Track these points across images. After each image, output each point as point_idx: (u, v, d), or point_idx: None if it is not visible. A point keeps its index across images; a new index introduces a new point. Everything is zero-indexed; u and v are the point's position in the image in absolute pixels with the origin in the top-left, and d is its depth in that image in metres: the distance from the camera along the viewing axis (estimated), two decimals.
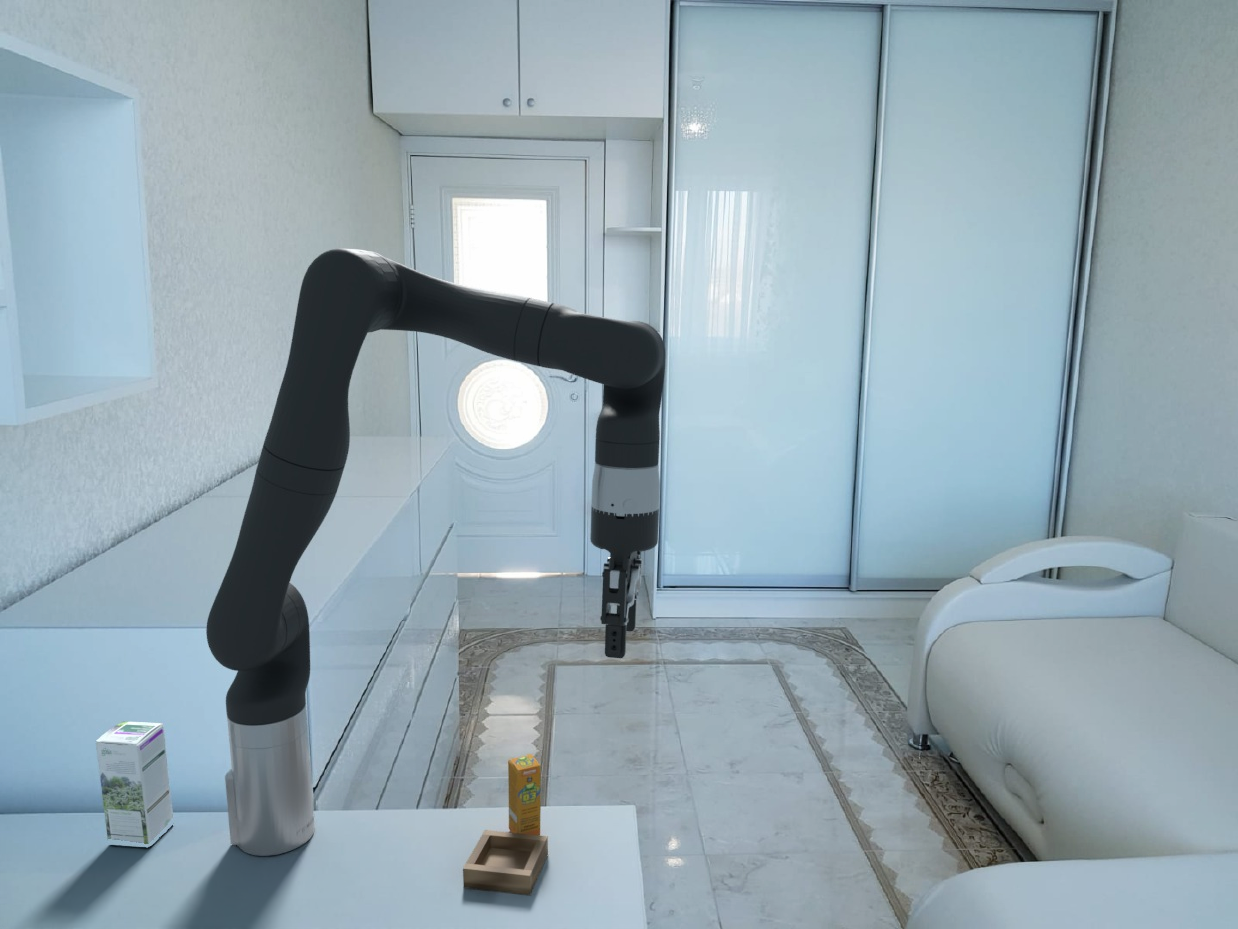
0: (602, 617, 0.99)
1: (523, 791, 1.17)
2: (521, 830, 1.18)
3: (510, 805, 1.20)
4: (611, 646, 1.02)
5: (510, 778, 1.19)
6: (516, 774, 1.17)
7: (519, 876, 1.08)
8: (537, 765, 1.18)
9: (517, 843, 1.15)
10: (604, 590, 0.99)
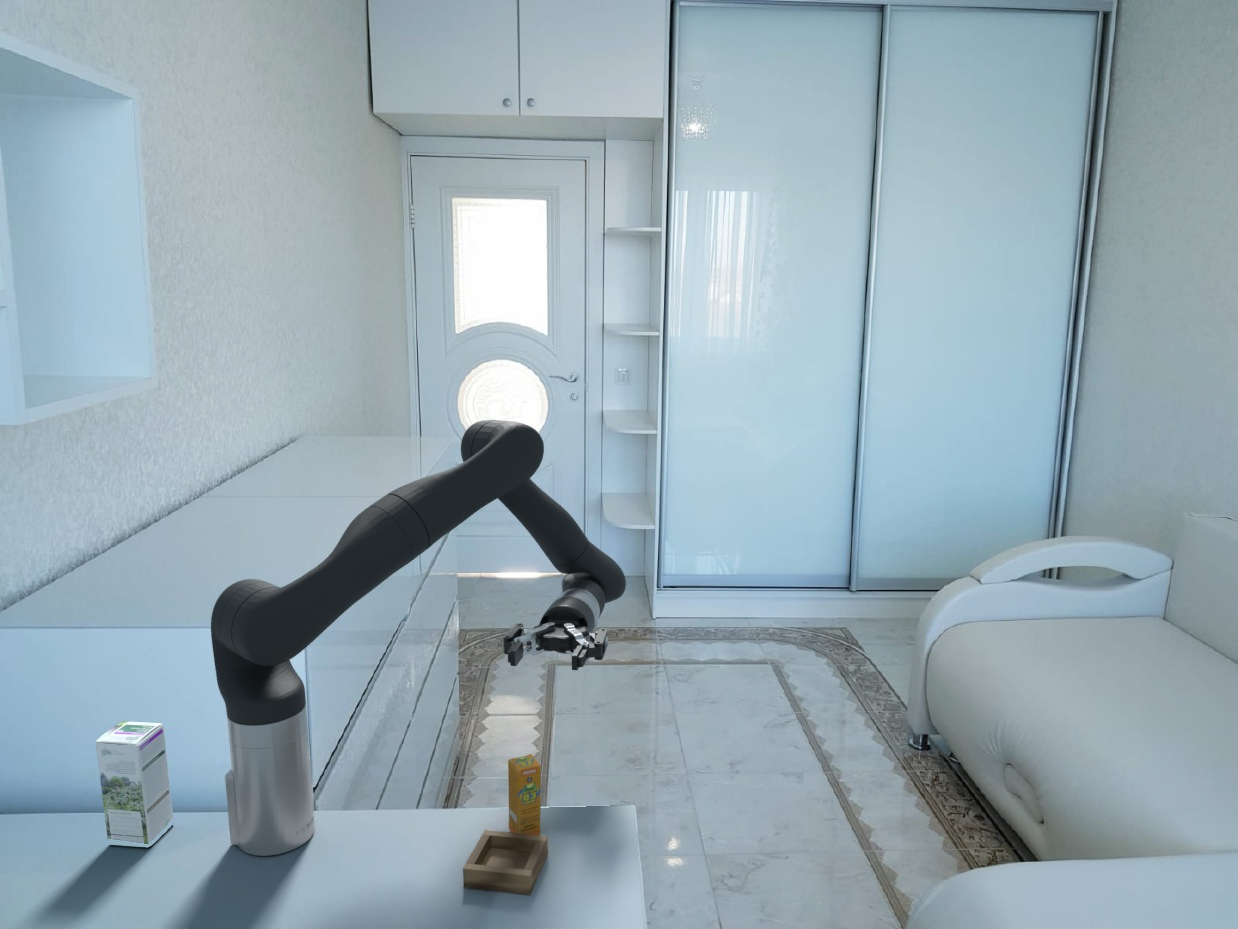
0: (603, 642, 1.30)
1: (523, 791, 1.17)
2: (521, 830, 1.18)
3: (510, 805, 1.20)
4: None
5: (510, 778, 1.19)
6: (516, 774, 1.17)
7: (519, 876, 1.08)
8: (537, 765, 1.18)
9: (517, 843, 1.15)
10: (605, 635, 1.33)
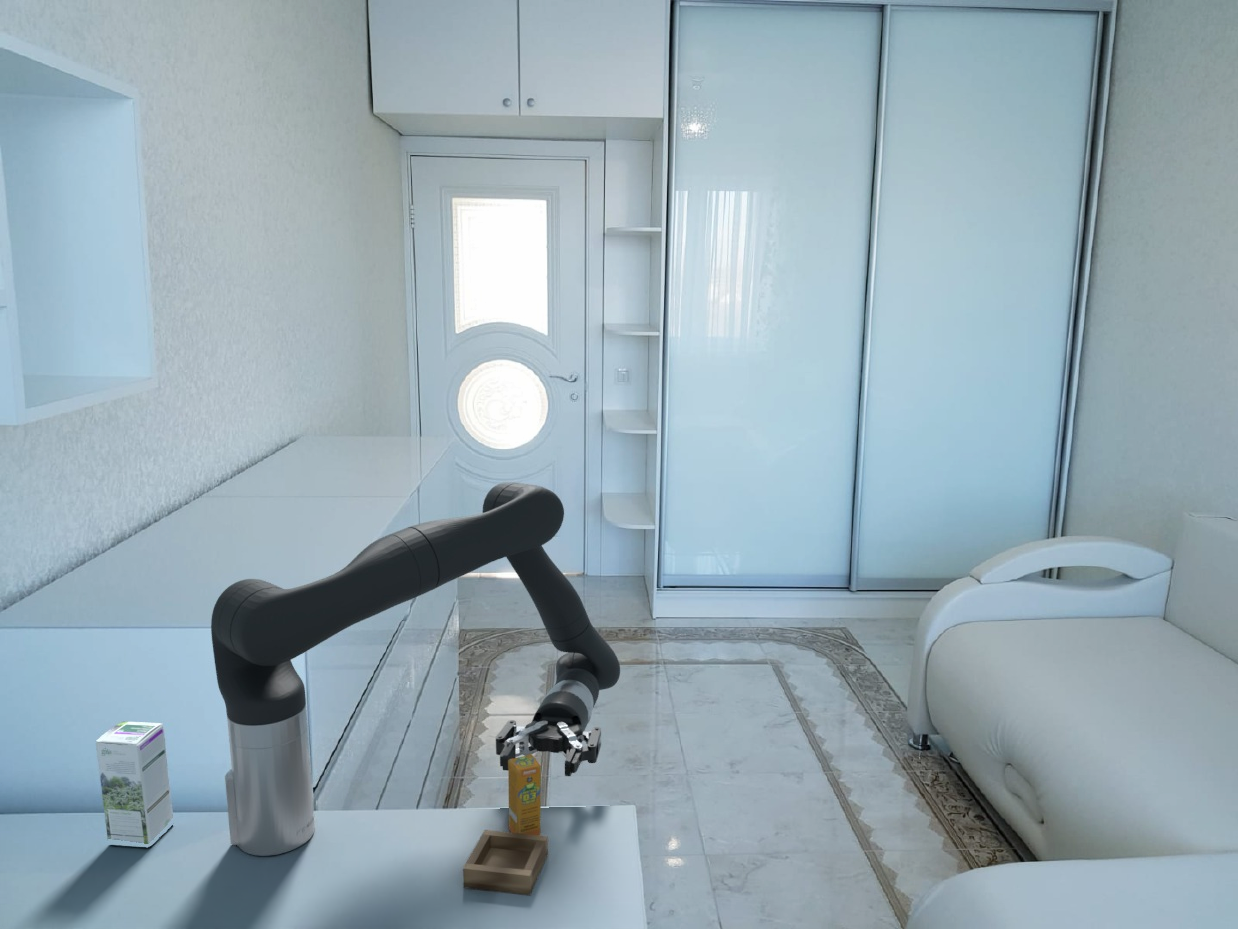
0: (596, 745, 1.29)
1: (523, 791, 1.17)
2: (521, 830, 1.18)
3: (510, 805, 1.20)
4: (576, 762, 1.26)
5: (510, 778, 1.19)
6: (516, 774, 1.17)
7: (519, 876, 1.08)
8: (537, 765, 1.18)
9: (517, 843, 1.15)
10: (599, 735, 1.32)
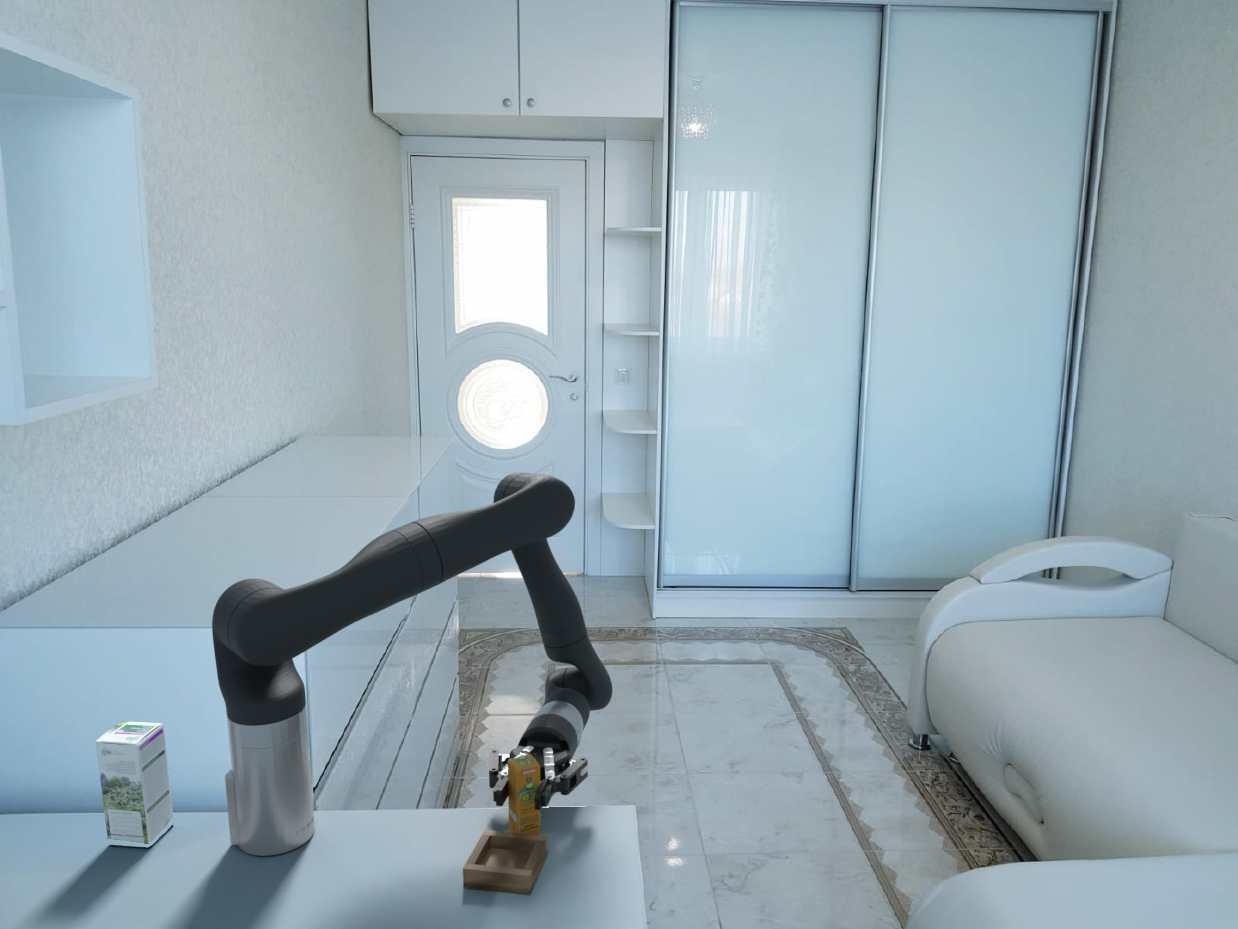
0: (570, 776, 1.20)
1: (522, 791, 1.17)
2: (521, 830, 1.18)
3: (510, 805, 1.20)
4: (547, 795, 1.17)
5: (509, 778, 1.19)
6: (515, 774, 1.17)
7: (519, 876, 1.08)
8: (536, 765, 1.18)
9: (517, 843, 1.15)
10: (581, 766, 1.23)
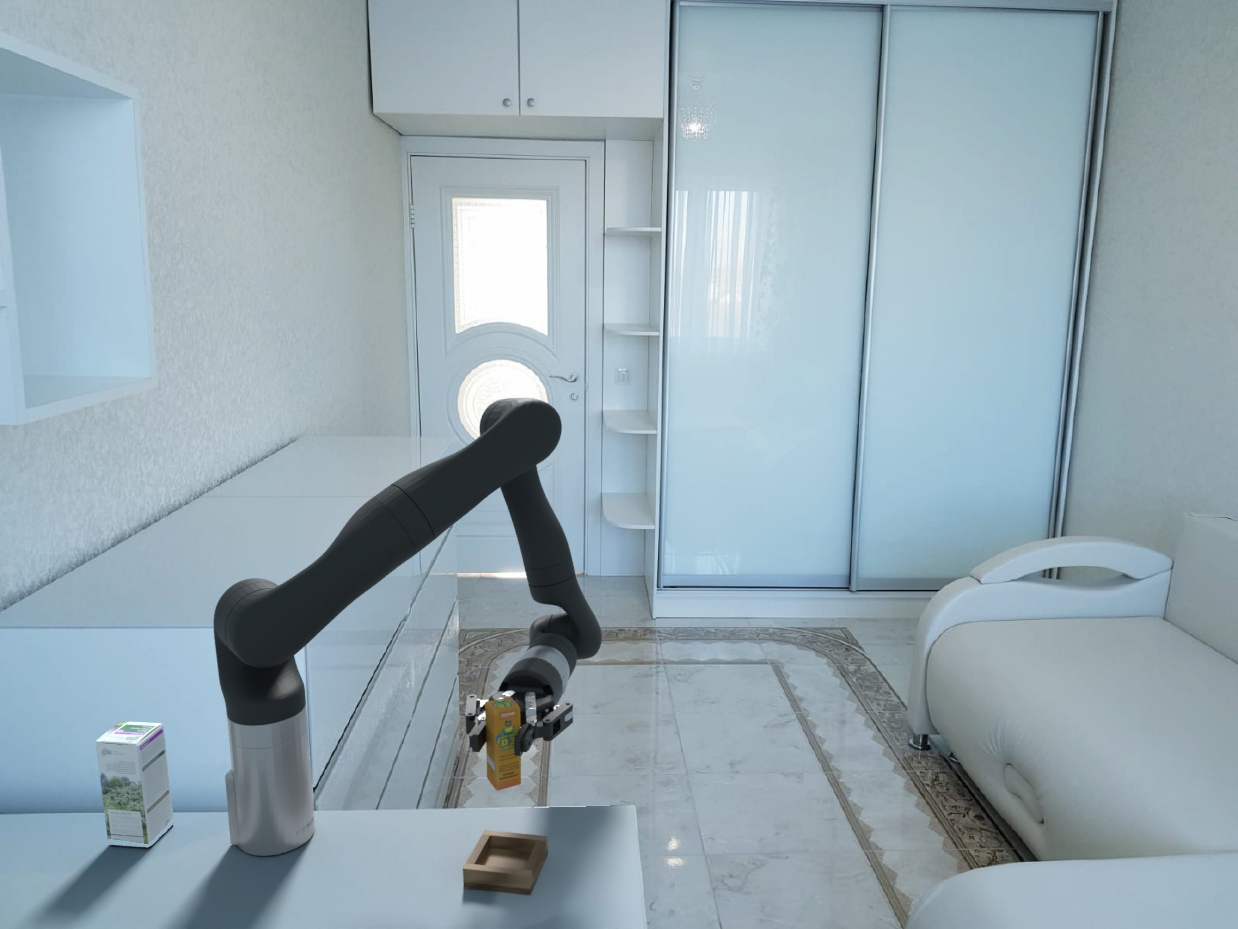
0: (553, 720, 1.11)
1: (501, 735, 1.08)
2: (499, 778, 1.09)
3: (488, 752, 1.10)
4: (528, 740, 1.08)
5: (487, 723, 1.09)
6: (493, 717, 1.07)
7: (519, 876, 1.08)
8: (516, 707, 1.08)
9: (517, 843, 1.15)
10: (565, 711, 1.13)
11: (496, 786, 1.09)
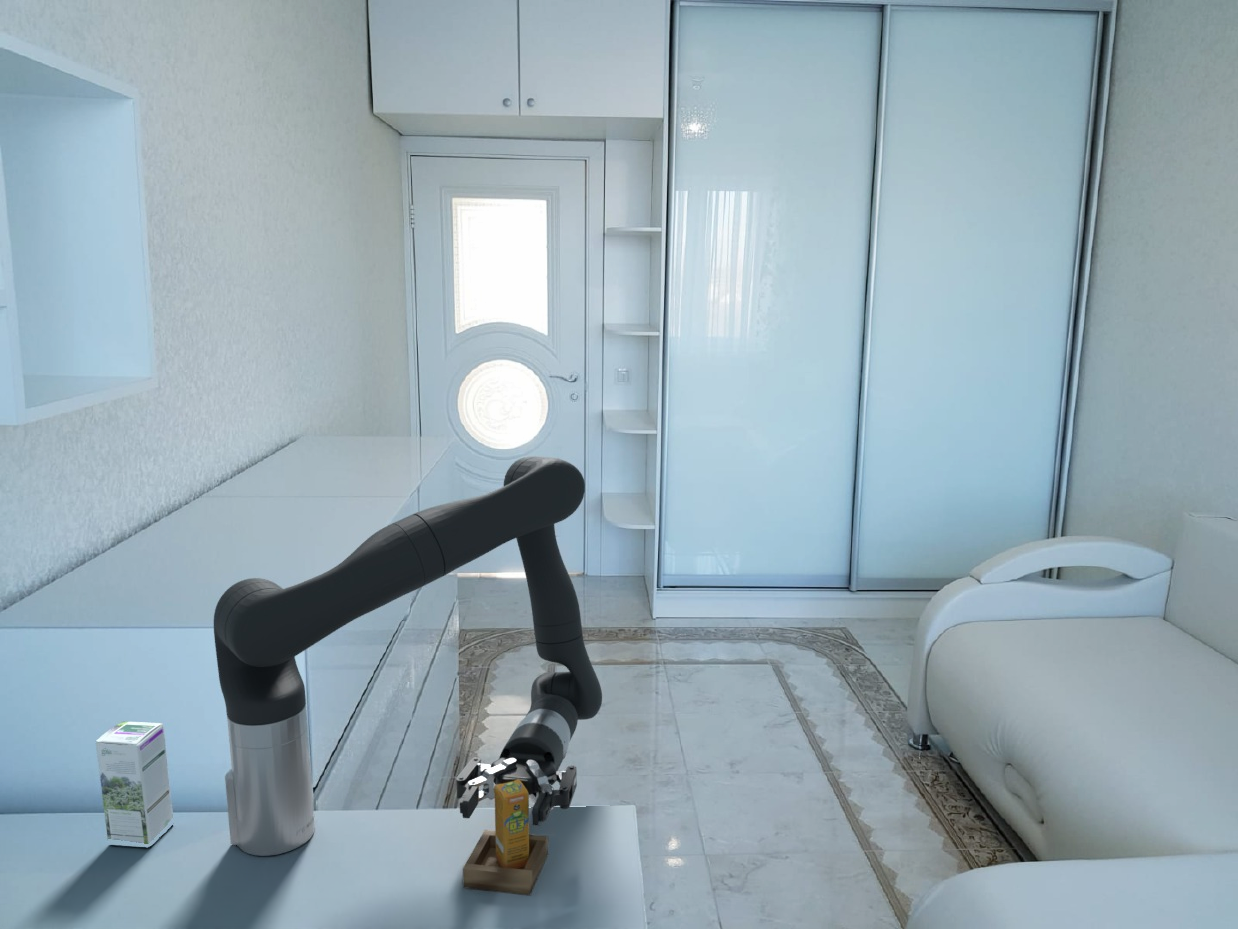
0: (569, 788, 1.13)
1: (509, 819, 1.10)
2: (508, 860, 1.11)
3: (497, 833, 1.12)
4: None
5: (496, 805, 1.11)
6: (502, 801, 1.09)
7: (519, 876, 1.08)
8: (525, 792, 1.10)
9: None
10: (574, 776, 1.16)
11: None
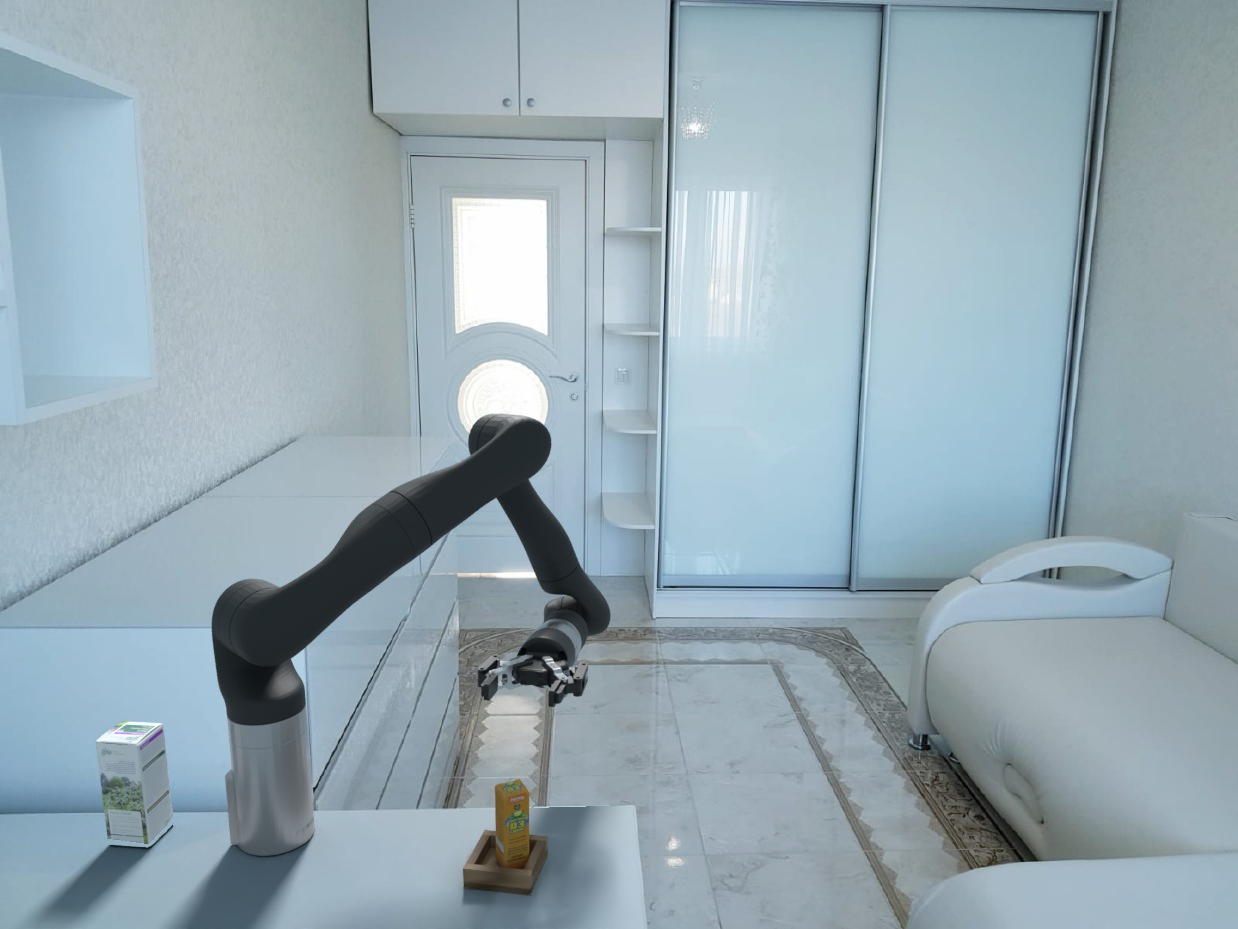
0: (582, 677, 1.23)
1: (510, 819, 1.10)
2: (508, 860, 1.11)
3: (497, 833, 1.12)
4: None
5: (496, 805, 1.11)
6: (503, 801, 1.09)
7: (519, 876, 1.08)
8: (525, 791, 1.10)
9: None
10: (586, 670, 1.26)
11: None
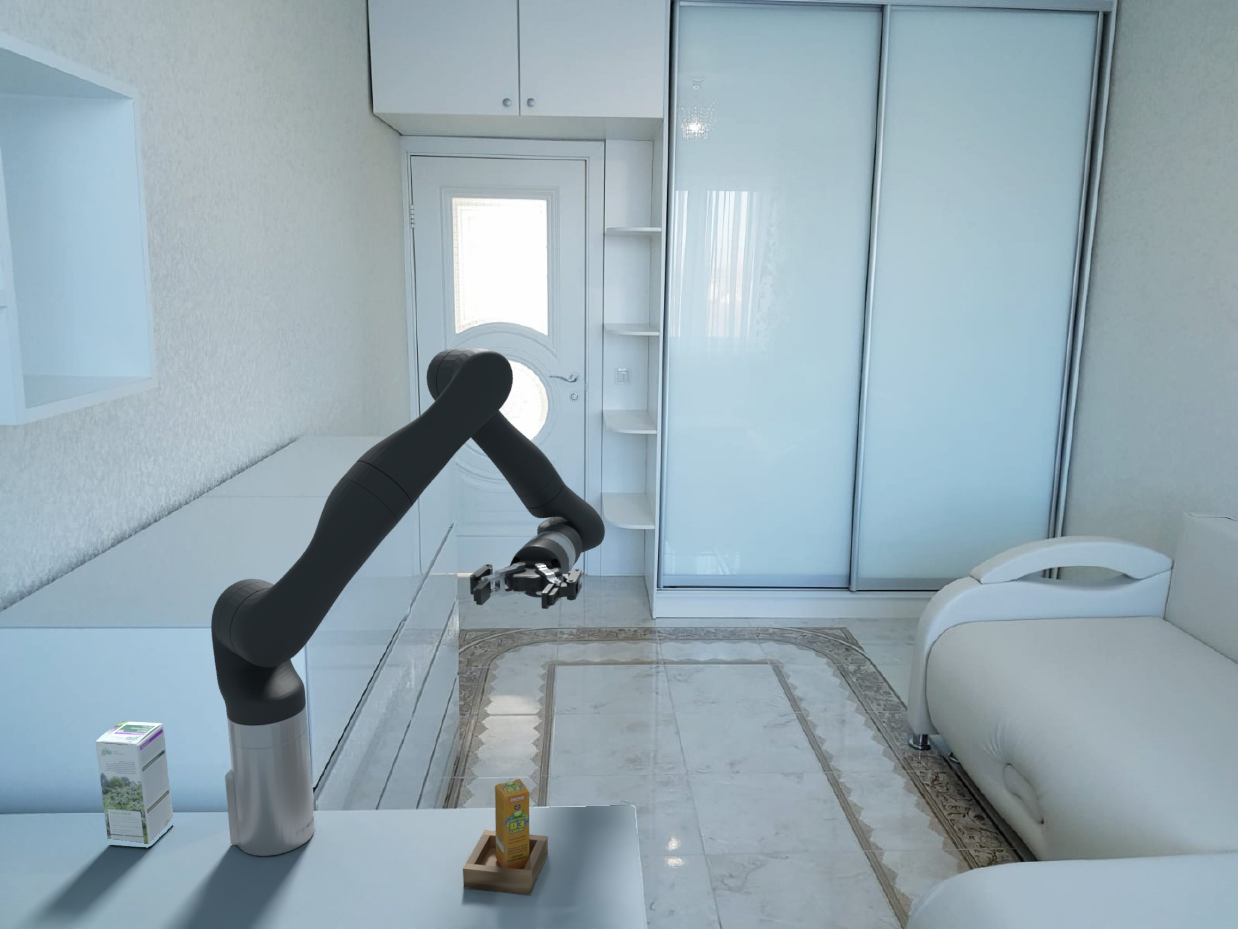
0: (576, 581, 1.22)
1: (510, 819, 1.10)
2: (508, 860, 1.11)
3: (497, 833, 1.12)
4: None
5: (496, 805, 1.11)
6: (503, 801, 1.09)
7: (519, 876, 1.08)
8: (525, 791, 1.10)
9: None
10: (579, 575, 1.25)
11: None
